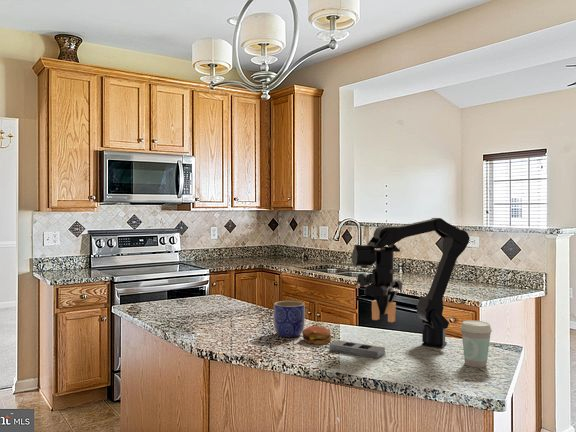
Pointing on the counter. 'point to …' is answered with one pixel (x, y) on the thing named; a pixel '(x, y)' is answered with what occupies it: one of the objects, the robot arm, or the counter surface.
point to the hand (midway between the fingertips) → (383, 314)
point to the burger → (317, 335)
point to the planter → (289, 318)
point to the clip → (389, 310)
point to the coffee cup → (475, 342)
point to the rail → (357, 349)
